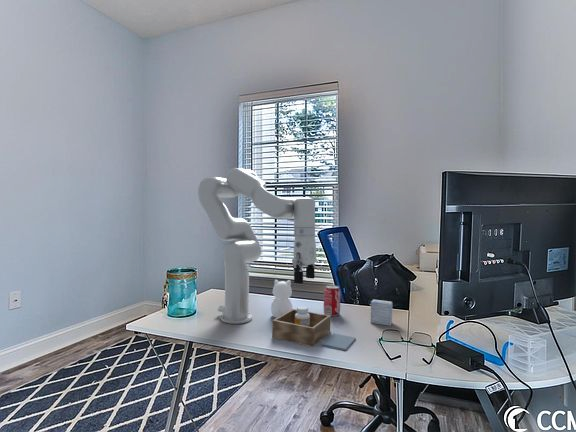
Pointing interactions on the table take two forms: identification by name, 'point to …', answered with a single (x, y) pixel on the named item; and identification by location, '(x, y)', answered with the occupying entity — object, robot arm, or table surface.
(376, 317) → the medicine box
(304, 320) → the supplement bottle
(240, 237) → the robot arm
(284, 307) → the cat figurine
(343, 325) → the table surface
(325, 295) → the soda can
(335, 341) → the mat
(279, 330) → the crate
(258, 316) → the table surface
